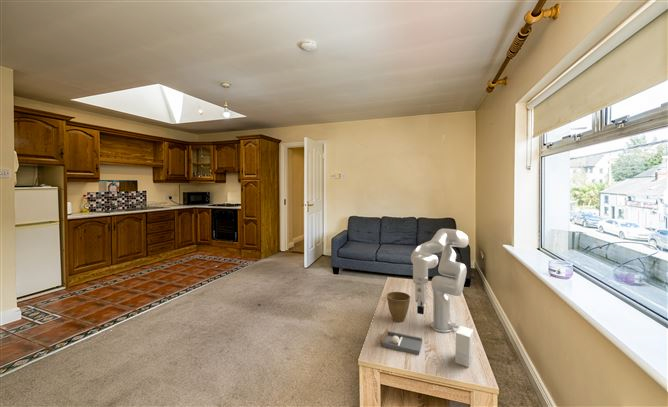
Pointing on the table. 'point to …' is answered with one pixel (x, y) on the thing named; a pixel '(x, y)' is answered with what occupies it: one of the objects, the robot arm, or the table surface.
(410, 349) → the tray
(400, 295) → the plant pot
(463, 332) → the skincare box
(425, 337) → the table surface
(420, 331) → the table surface
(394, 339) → the ball
